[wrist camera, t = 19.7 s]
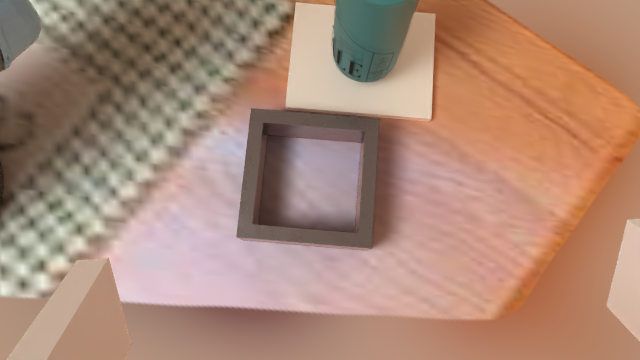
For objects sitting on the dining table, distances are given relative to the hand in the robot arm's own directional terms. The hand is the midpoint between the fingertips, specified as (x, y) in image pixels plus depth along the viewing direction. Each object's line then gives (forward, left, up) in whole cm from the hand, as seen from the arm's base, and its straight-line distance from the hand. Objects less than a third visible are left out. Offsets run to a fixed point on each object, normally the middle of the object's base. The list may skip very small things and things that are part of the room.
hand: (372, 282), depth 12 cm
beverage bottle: (+1, +21, -31) cm, 38 cm away
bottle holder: (-3, +8, -32) cm, 33 cm away
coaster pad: (+1, +21, -32) cm, 38 cm away
